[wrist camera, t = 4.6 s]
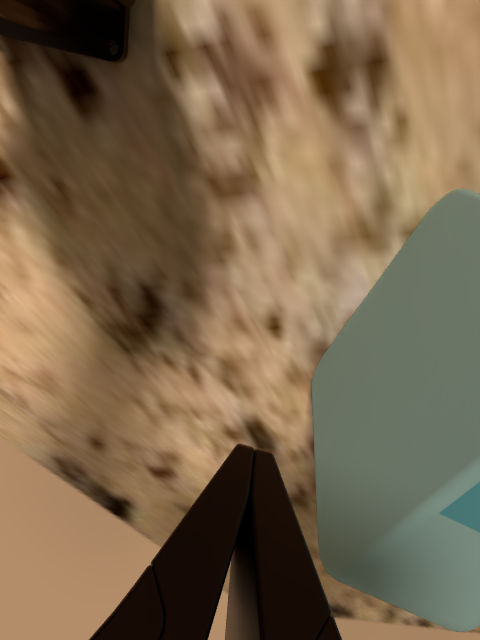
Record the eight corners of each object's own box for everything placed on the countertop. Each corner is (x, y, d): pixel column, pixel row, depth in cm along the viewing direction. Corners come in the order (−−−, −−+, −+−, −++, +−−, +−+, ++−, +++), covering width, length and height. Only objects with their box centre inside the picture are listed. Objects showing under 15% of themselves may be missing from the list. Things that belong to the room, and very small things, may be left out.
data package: (374, 404, 22) (440, 651, 12) (309, 372, 22) (316, 598, 11) (532, 228, 17) (934, 398, 6) (447, 181, 16) (719, 275, 6)
